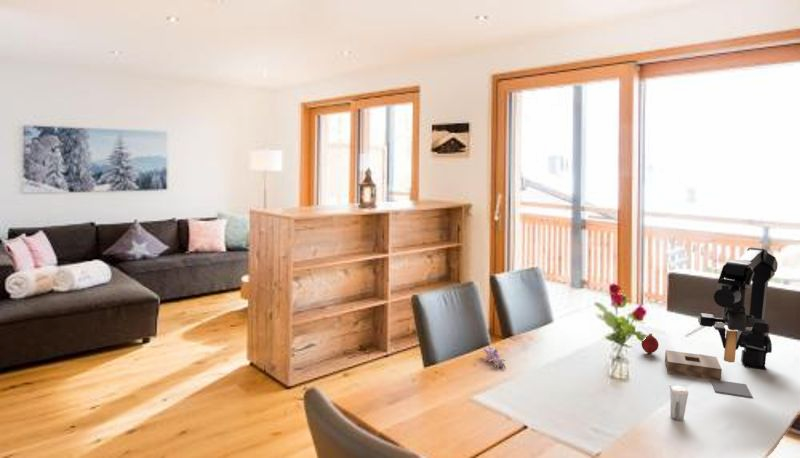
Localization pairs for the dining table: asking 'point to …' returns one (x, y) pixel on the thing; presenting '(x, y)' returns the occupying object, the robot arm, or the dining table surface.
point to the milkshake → (678, 402)
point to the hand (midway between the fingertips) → (730, 348)
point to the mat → (731, 388)
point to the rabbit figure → (494, 357)
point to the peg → (730, 345)
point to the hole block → (692, 365)
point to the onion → (650, 344)
